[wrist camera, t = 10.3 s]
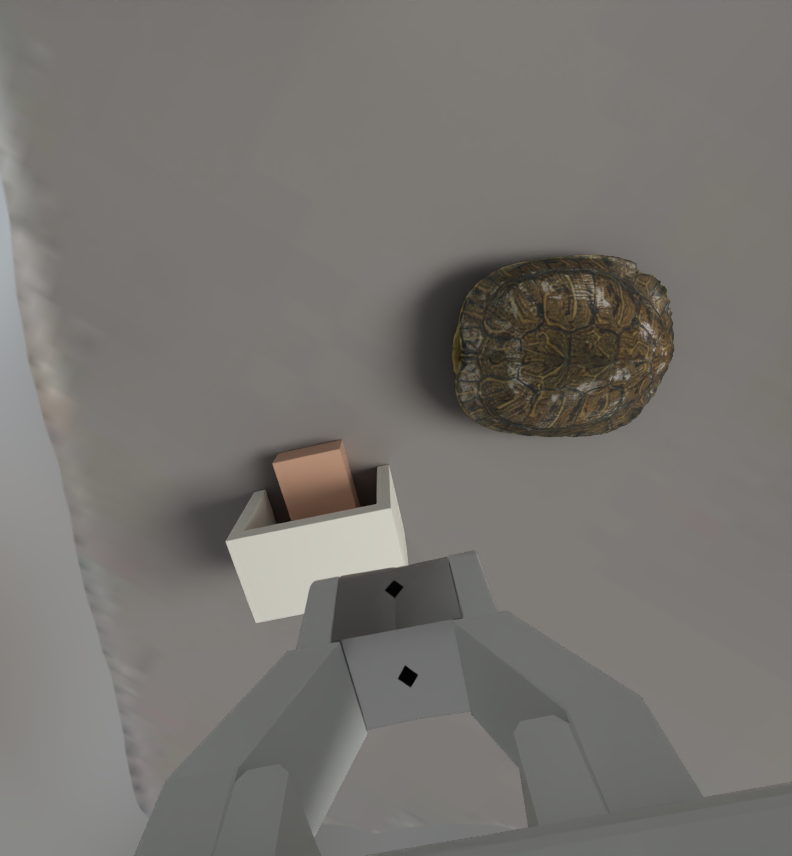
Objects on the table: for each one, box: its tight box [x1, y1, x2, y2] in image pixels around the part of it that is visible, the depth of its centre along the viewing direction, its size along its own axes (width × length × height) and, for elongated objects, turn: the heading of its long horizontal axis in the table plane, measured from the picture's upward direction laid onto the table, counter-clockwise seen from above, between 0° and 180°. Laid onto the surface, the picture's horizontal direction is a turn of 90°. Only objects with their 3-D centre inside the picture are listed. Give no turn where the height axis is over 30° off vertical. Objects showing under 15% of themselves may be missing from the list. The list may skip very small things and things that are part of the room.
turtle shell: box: [452, 255, 674, 437], centre depth 40 cm, size 16×9×20 cm
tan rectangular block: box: [272, 440, 360, 521], centre depth 46 cm, size 9×6×3 cm
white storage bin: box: [225, 465, 408, 623], centre depth 43 cm, size 8×14×9 cm, turn 102°
